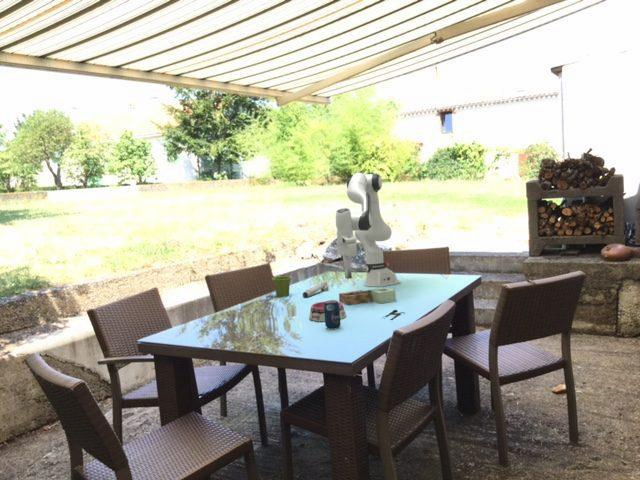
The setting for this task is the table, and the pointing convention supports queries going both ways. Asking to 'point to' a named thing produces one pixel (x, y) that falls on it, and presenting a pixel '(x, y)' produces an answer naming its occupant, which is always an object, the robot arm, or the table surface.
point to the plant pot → (282, 285)
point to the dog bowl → (318, 312)
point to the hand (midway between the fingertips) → (347, 263)
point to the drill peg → (347, 268)
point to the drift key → (365, 291)
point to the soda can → (332, 314)
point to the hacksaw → (394, 314)
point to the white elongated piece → (316, 289)
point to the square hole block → (383, 295)
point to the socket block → (354, 297)
